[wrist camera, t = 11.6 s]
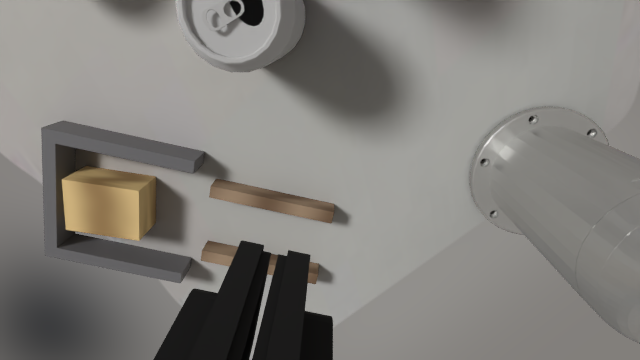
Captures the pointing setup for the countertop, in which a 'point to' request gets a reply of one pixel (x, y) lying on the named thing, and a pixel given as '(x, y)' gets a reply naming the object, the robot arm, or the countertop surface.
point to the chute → (269, 202)
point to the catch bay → (95, 251)
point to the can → (241, 30)
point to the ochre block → (109, 202)
